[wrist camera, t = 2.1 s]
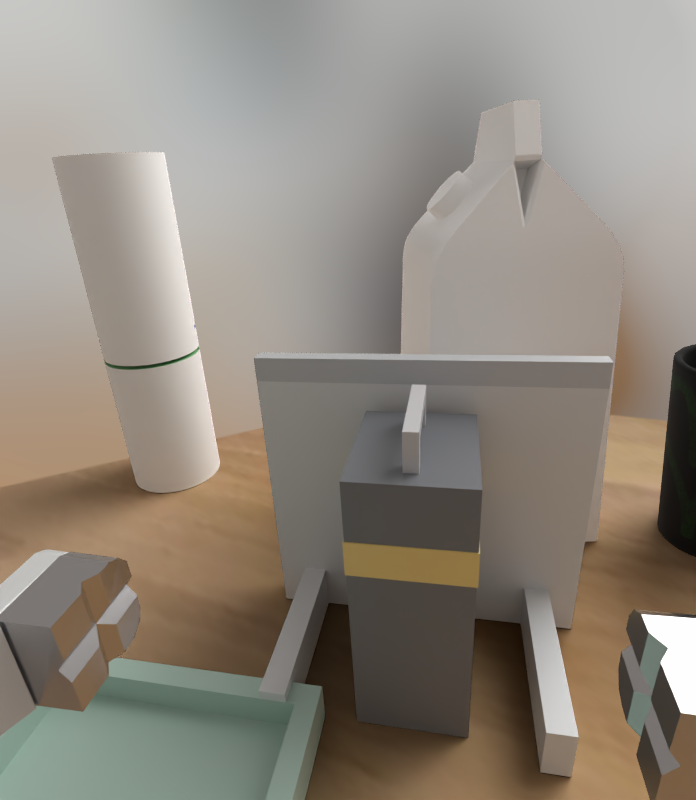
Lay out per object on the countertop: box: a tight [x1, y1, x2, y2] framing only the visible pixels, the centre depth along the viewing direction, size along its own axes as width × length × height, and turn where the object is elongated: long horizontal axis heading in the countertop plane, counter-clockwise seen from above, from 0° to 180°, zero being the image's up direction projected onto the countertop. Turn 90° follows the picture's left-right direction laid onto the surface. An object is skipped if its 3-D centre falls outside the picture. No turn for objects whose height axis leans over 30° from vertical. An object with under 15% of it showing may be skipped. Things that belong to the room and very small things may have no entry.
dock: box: [254, 353, 614, 777], centre depth 24 cm, size 16×9×15 cm, turn 79°
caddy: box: [339, 384, 482, 738], centre depth 23 cm, size 5×6×15 cm
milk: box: [401, 99, 624, 542], centre depth 34 cm, size 12×12×26 cm
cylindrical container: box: [52, 152, 220, 493], centre depth 41 cm, size 7×7×25 cm
